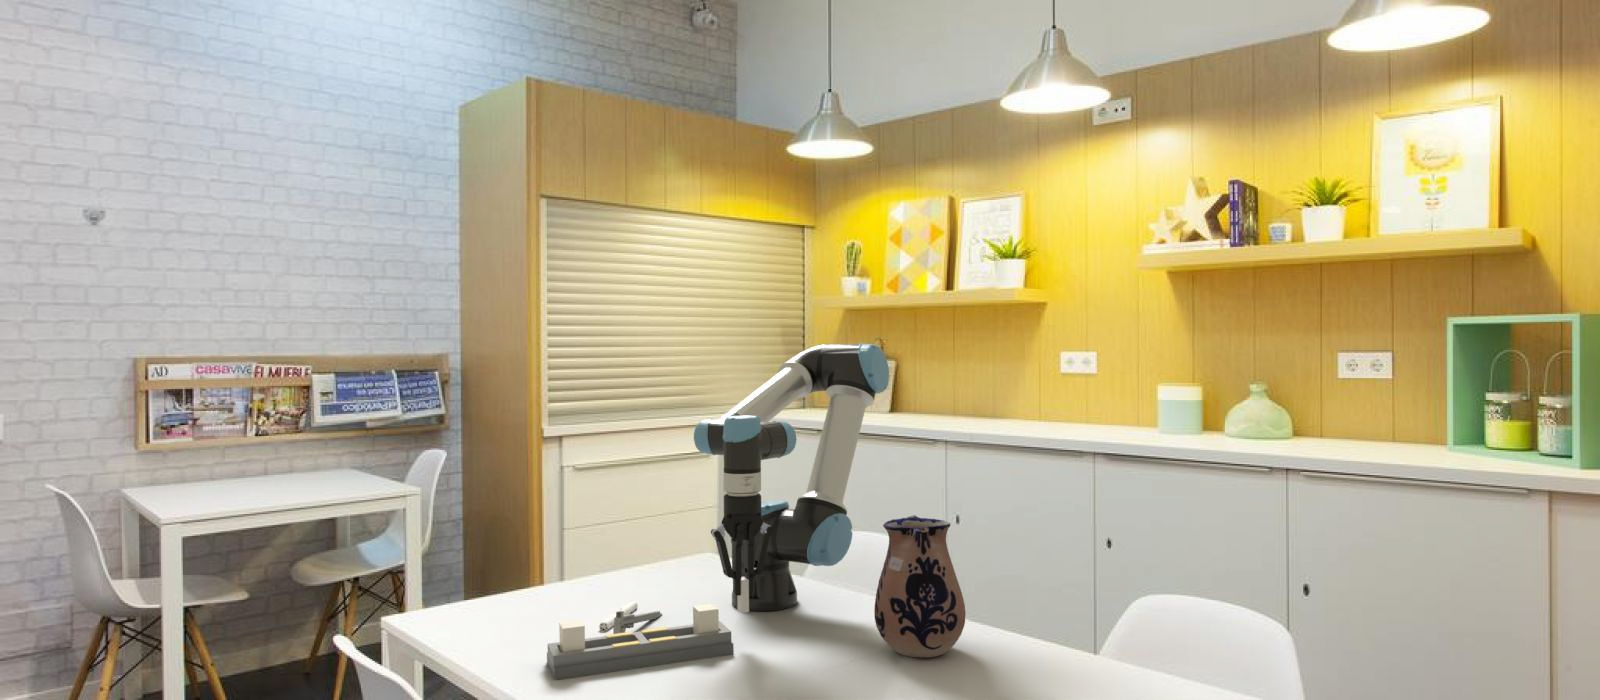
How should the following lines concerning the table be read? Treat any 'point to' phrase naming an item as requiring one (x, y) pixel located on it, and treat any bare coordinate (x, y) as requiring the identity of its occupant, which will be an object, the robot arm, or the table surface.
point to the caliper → (631, 620)
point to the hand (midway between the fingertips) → (743, 610)
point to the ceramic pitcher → (919, 590)
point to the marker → (610, 620)
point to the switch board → (638, 650)
